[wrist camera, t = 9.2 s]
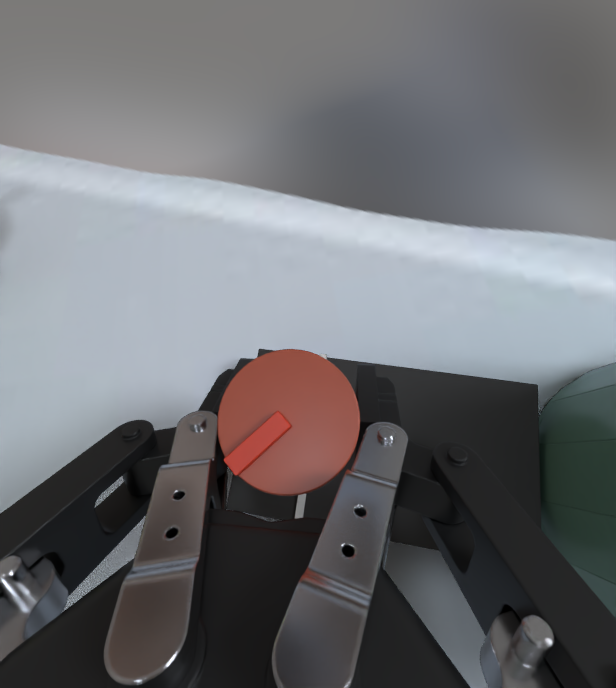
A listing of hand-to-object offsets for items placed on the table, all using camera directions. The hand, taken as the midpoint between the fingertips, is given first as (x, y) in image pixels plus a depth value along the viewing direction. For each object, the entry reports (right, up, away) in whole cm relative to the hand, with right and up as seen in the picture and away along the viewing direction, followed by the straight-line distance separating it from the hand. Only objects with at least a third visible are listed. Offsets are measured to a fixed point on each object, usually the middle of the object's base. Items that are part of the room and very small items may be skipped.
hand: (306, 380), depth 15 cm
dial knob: (0, -3, +3) cm, 4 cm away
